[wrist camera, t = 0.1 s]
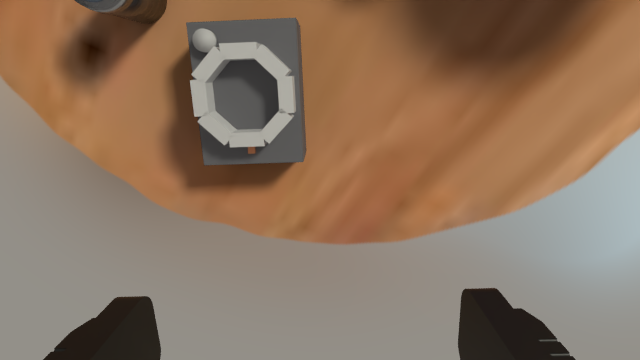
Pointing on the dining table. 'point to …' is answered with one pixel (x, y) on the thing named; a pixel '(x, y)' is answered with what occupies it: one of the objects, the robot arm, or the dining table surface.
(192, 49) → the camera body
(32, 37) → the dining table surface
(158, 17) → the lens
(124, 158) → the dining table surface
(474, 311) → the robot arm
